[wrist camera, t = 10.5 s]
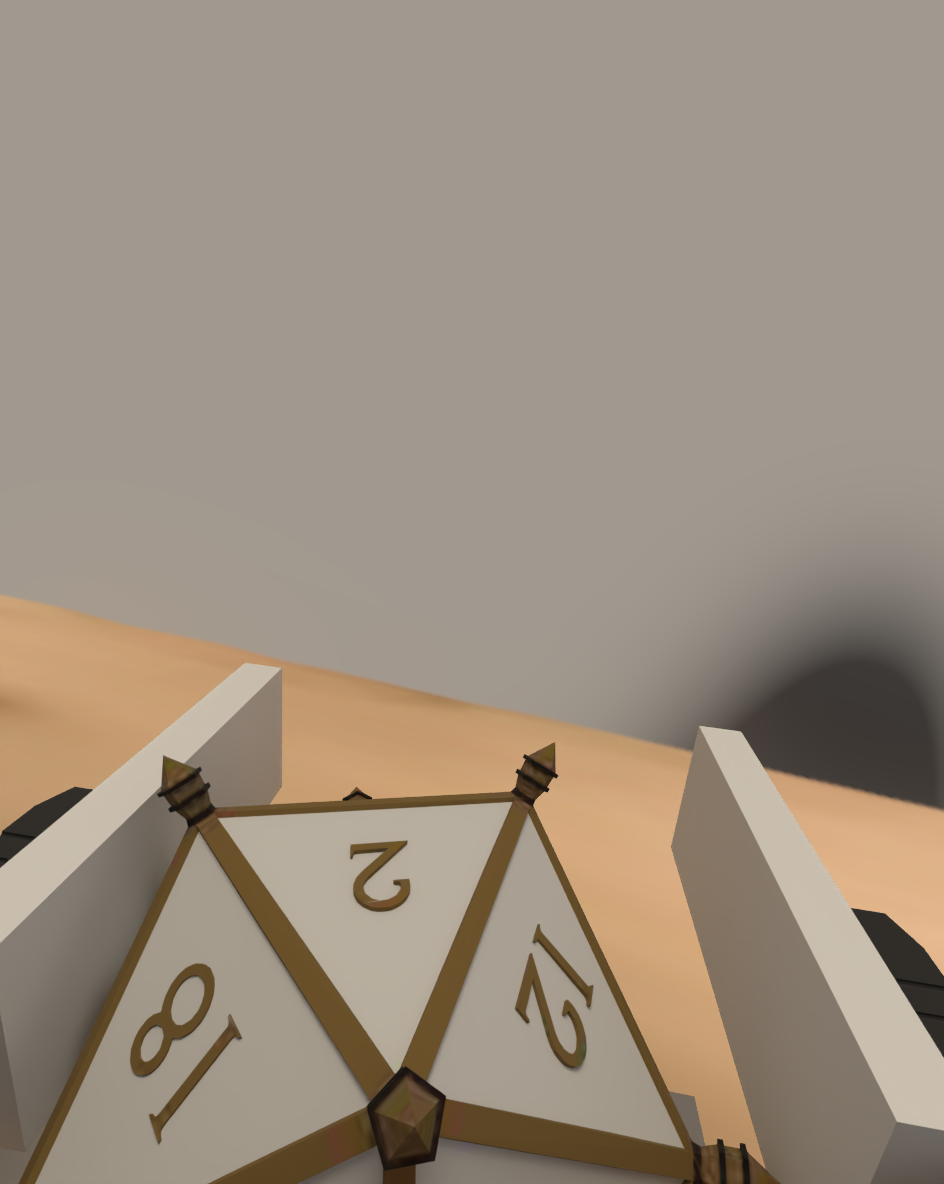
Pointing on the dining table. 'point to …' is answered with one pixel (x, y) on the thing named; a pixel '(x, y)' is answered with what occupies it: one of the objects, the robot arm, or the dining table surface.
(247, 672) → the robot arm
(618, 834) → the dining table surface
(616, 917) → the dining table surface
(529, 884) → the game die
